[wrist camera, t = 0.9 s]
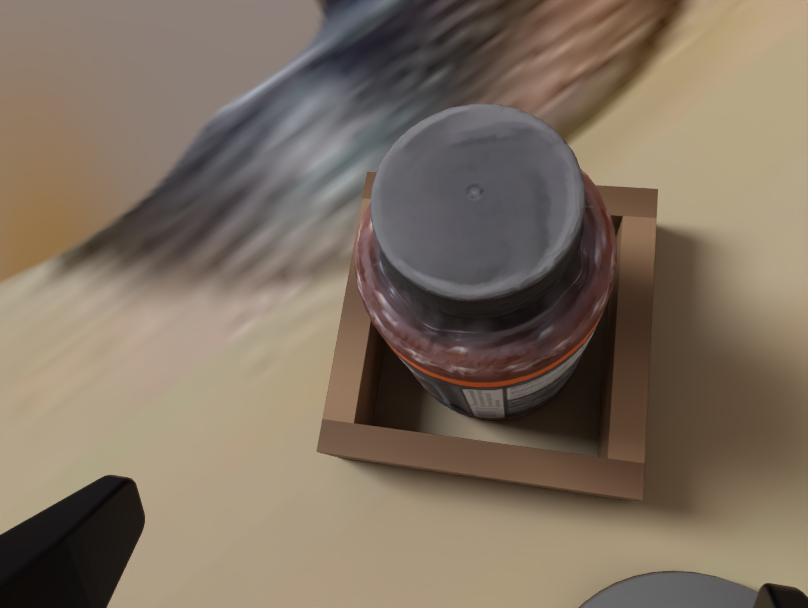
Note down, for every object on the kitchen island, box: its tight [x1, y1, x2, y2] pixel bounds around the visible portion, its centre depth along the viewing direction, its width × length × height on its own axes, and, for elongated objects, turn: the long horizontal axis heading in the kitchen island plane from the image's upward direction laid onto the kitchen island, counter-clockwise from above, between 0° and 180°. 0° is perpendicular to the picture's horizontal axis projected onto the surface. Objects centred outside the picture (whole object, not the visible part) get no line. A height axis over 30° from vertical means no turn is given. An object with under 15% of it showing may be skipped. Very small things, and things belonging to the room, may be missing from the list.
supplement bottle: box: [354, 104, 617, 420], centre depth 17 cm, size 6×6×11 cm
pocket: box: [317, 172, 658, 501], centre depth 21 cm, size 10×10×2 cm
